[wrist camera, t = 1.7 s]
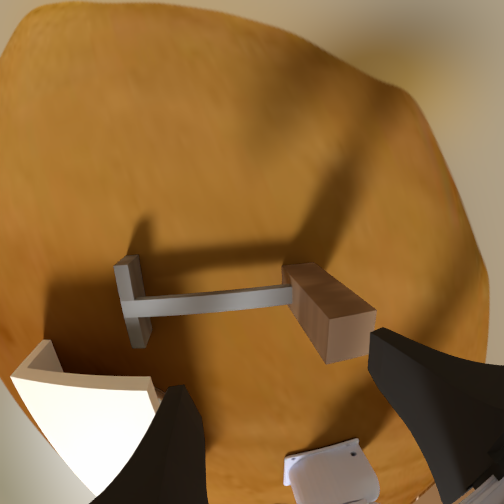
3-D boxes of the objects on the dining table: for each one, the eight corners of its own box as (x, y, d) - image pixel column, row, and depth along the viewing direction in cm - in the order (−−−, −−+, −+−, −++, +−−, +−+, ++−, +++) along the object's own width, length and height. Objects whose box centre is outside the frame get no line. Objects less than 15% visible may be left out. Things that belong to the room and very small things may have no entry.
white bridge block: (160, 340, 20) (146, 390, 14) (198, 464, 24) (199, 506, 18) (43, 339, 19) (10, 376, 13) (105, 458, 23) (96, 496, 17)
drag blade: (313, 239, 20) (380, 275, 12) (313, 313, 22) (365, 379, 13) (126, 255, 19) (70, 303, 10) (140, 329, 20) (108, 406, 11)
